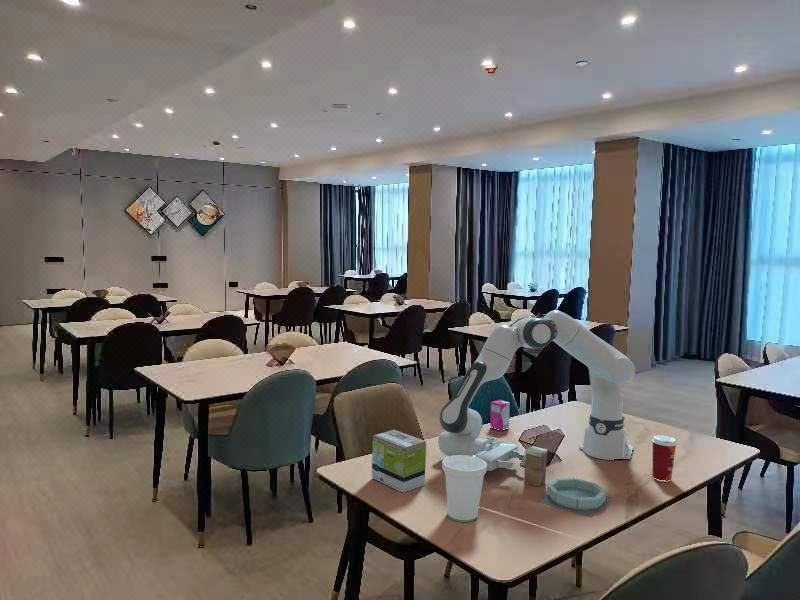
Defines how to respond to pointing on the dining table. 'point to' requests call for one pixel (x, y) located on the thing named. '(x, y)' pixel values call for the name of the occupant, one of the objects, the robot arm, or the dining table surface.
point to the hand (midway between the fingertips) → (518, 461)
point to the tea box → (399, 460)
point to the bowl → (576, 493)
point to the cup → (463, 486)
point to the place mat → (583, 512)
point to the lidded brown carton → (535, 466)
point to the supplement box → (499, 414)
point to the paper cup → (663, 456)
